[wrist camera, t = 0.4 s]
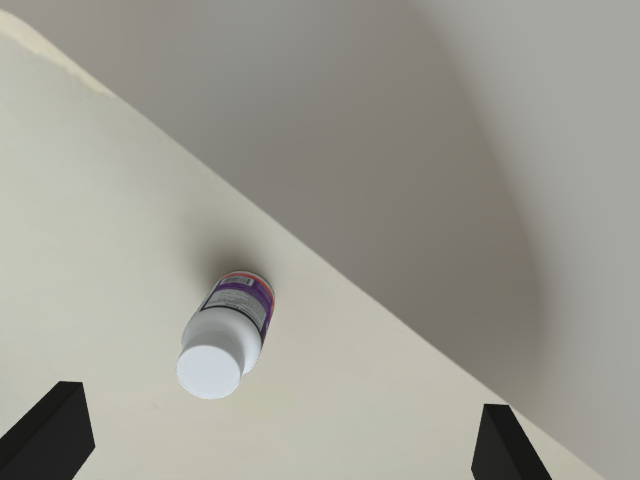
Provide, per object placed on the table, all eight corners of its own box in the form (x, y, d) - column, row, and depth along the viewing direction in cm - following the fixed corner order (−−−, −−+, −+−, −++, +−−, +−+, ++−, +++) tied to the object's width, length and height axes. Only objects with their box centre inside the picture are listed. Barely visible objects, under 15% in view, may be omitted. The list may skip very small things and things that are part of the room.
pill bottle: (247, 337, 34) (213, 423, 25) (200, 298, 33) (145, 372, 24) (289, 298, 32) (269, 374, 23) (240, 256, 31) (199, 317, 22)
